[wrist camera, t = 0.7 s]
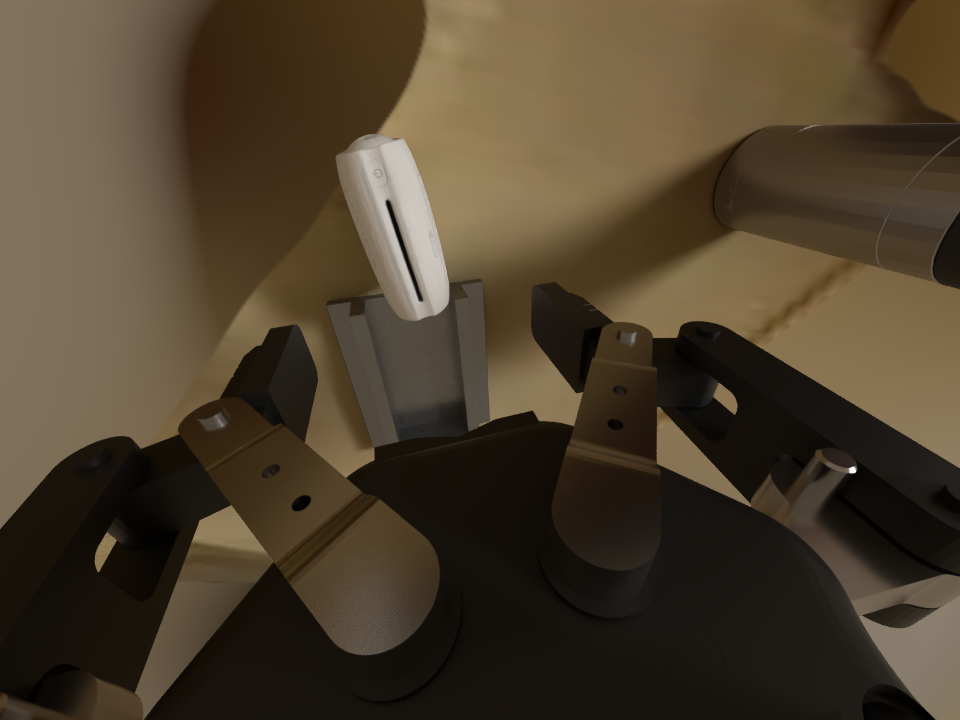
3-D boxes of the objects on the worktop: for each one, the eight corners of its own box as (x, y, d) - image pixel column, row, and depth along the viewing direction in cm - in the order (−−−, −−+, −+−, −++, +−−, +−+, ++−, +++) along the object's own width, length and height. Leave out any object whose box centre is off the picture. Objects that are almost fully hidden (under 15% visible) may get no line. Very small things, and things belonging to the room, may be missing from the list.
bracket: (480, 278, 33) (491, 293, 30) (488, 416, 43) (497, 438, 40) (327, 302, 31) (322, 321, 28) (373, 443, 41) (373, 468, 38)
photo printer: (337, 141, 25) (316, 148, 15) (395, 126, 25) (413, 123, 15) (388, 275, 31) (397, 344, 21) (434, 261, 31) (465, 323, 21)
